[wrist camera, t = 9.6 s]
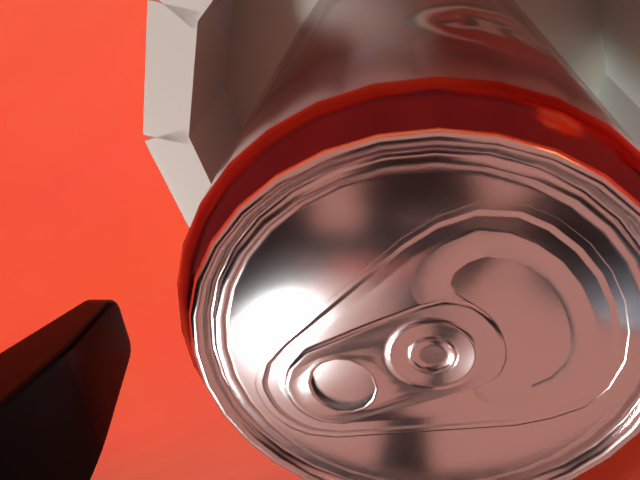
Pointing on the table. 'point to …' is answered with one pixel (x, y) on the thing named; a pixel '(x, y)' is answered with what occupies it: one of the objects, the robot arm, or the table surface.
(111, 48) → the table surface
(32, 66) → the table surface
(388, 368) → the soda can
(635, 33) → the bowl
